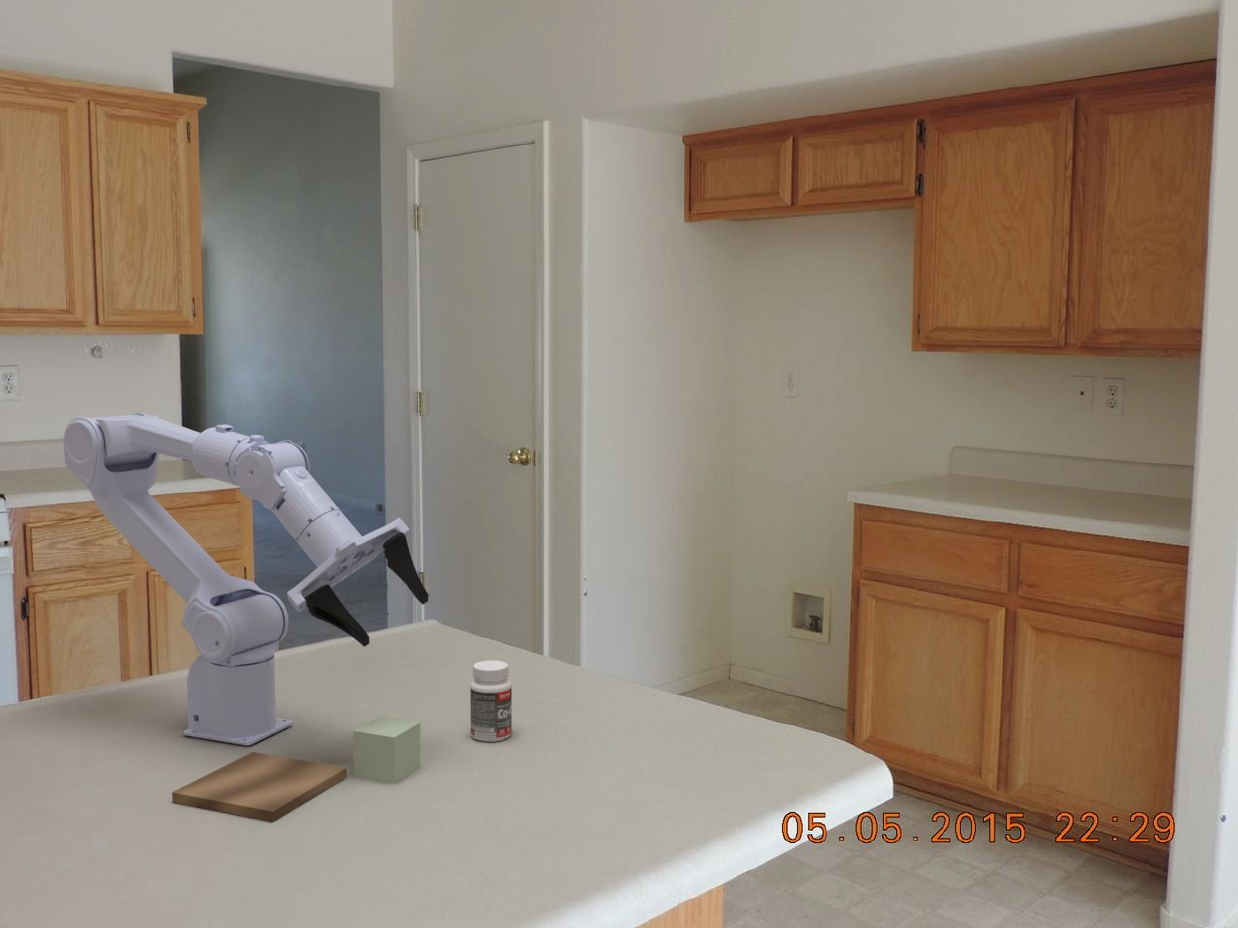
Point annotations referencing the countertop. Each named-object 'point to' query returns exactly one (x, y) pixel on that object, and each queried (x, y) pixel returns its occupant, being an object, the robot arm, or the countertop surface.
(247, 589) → the robot arm
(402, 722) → the sage cube
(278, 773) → the walnut pad
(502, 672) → the pill bottle
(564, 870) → the countertop surface
